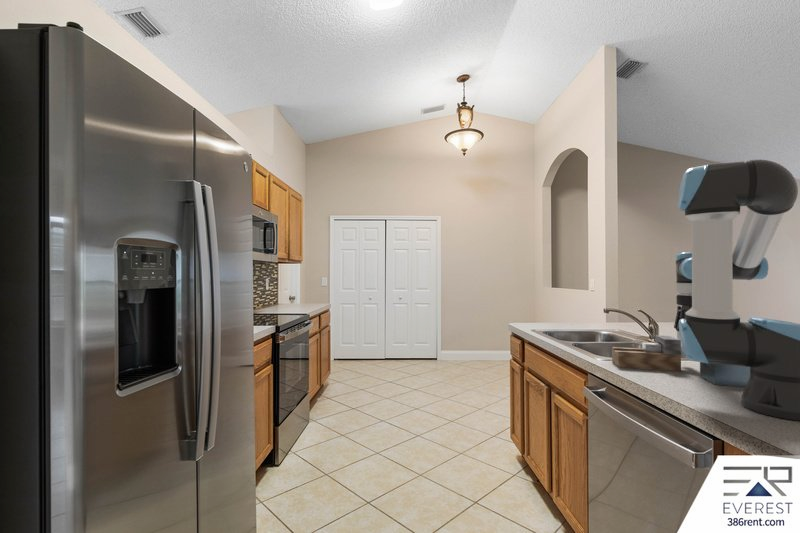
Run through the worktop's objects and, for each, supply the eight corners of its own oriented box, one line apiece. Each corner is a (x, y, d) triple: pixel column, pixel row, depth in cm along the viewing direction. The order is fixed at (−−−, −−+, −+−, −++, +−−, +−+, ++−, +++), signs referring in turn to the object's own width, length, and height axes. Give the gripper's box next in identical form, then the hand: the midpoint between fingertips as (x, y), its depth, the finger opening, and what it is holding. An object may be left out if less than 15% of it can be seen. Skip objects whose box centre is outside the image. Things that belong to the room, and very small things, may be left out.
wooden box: (670, 365, 143) (670, 335, 144) (681, 371, 135) (680, 340, 135) (612, 361, 149) (611, 333, 149) (618, 367, 140) (618, 337, 141)
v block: (753, 387, 116) (753, 363, 116) (714, 384, 118) (714, 361, 118) (735, 378, 125) (735, 357, 125) (700, 376, 128) (699, 355, 128)
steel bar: (695, 356, 136) (695, 346, 136) (645, 353, 140) (645, 344, 140) (691, 354, 140) (691, 344, 140) (642, 351, 144) (642, 342, 144)
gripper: (719, 297, 125) (720, 361, 125) (685, 292, 149) (686, 346, 149) (692, 297, 127) (693, 359, 127) (663, 292, 151) (664, 345, 151)
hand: (689, 352), depth 138 cm, fingers open, 13 cm apart
